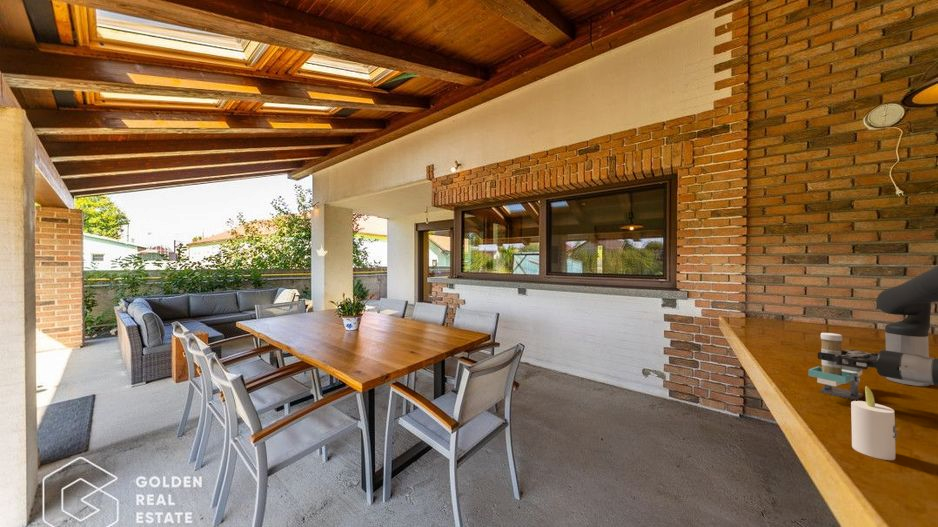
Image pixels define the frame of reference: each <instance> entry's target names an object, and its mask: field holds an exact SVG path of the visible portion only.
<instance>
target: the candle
mask: <svg viewBox="0 0 938 527" xmlns="http://www.w3.org/2000/svg"><path fill="white" fill-rule="evenodd" d="M864 386H865V387H864V393H865V401H863V400H857V401H856V400H853V401H851V402H850V412H851V414H850V416H851V447H852V449H853V450H855V451H856V452H858V453H860V454H863V455H865V456H868V457H871V458H873V459H874V458H875V459H878V460H879V459H880V460H884V461H895V460H896V439H897V437H898V431H897V430H896V428H898V425H895V424H896V421H895V420H896V419H895V410H894V409H893V408H891V407H888V406H886V405H883V404H879V403H876V402H875V397H874V393H873V392H872V390H871V389H870V388H869V386H868V385H864Z"/></svg>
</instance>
